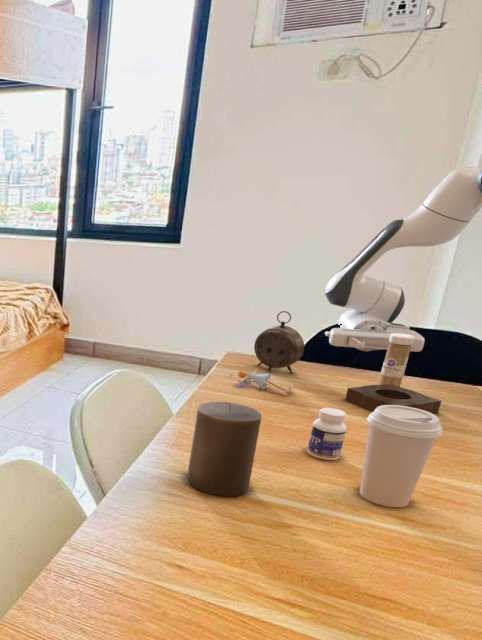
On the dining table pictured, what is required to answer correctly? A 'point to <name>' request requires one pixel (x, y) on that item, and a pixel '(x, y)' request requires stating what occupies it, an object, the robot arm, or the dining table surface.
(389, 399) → the holder base
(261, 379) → the fairy figurine
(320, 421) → the pill bottle
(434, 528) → the dining table surface
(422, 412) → the coffee cup
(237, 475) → the pillar candle
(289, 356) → the alarm clock
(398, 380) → the sprinkles bottle
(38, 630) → the dining table surface
